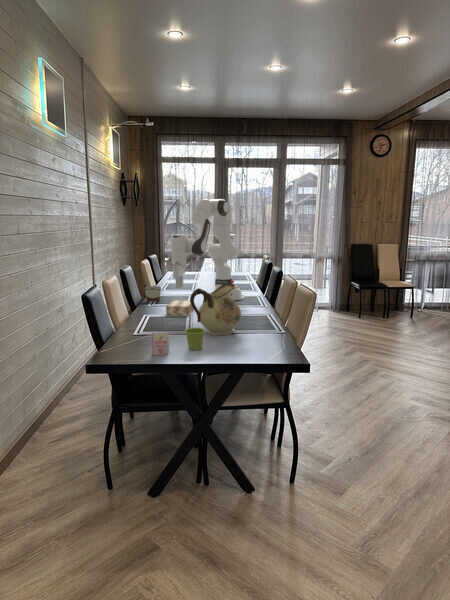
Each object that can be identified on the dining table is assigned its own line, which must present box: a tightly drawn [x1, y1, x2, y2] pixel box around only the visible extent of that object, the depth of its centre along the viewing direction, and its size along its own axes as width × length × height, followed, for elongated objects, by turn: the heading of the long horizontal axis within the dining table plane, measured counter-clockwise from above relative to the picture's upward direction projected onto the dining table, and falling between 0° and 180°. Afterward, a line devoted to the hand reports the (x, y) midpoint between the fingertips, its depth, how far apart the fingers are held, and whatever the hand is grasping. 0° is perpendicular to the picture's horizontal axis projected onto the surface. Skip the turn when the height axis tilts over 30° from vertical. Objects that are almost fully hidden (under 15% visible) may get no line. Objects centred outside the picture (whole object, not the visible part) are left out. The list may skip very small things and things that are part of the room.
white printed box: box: [151, 332, 170, 357], centre depth 187 cm, size 4×7×10 cm, turn 90°
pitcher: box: [189, 283, 242, 336], centre depth 218 cm, size 22×24×25 cm
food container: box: [143, 285, 162, 303], centre depth 298 cm, size 12×6×10 cm, turn 84°
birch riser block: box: [165, 300, 195, 317], centre depth 264 cm, size 14×16×6 cm
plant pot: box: [184, 327, 206, 351], centre depth 195 cm, size 9×9×9 cm
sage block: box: [175, 275, 184, 289], centre depth 261 cm, size 4×4×7 cm
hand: (179, 282), depth 261 cm, fingers closed on sage block, 4 cm apart
